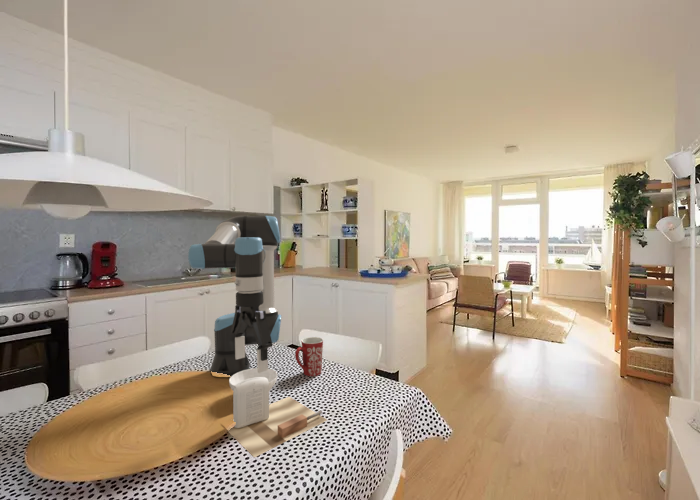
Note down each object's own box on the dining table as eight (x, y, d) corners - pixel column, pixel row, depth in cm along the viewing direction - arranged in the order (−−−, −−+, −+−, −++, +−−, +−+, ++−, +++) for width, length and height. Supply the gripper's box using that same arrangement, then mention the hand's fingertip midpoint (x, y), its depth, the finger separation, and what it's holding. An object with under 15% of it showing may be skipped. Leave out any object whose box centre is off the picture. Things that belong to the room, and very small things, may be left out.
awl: (282, 438, 85) (282, 429, 85) (277, 434, 87) (277, 425, 87) (323, 417, 95) (323, 409, 95) (318, 414, 96) (318, 406, 96)
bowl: (284, 400, 108) (283, 380, 108) (234, 414, 100) (234, 391, 100) (269, 383, 122) (269, 364, 122) (225, 393, 114) (224, 373, 113)
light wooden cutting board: (220, 429, 92) (220, 424, 92) (289, 401, 108) (289, 396, 108) (254, 463, 78) (254, 457, 77) (327, 425, 93) (327, 420, 93)
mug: (314, 366, 137) (314, 335, 137) (328, 372, 131) (327, 339, 130) (289, 375, 129) (289, 341, 128) (302, 382, 122) (302, 347, 122)
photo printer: (266, 412, 98) (265, 372, 98) (271, 418, 94) (271, 377, 94) (231, 423, 92) (230, 380, 92) (235, 430, 88) (235, 386, 88)
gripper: (218, 287, 98) (220, 356, 99) (259, 298, 80) (260, 382, 81) (242, 285, 104) (243, 350, 104) (284, 294, 86) (285, 373, 86)
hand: (250, 364), depth 93 cm, fingers open, 13 cm apart
